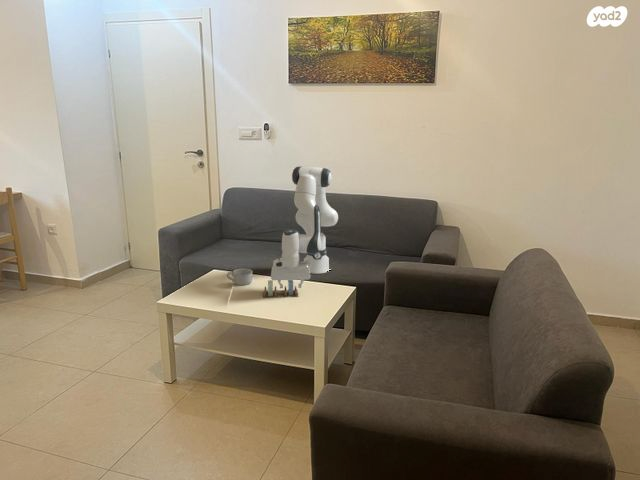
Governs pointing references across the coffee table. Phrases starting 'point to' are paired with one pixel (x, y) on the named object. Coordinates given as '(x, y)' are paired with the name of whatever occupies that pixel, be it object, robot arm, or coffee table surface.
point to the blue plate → (290, 287)
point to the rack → (280, 293)
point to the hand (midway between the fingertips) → (290, 287)
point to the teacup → (241, 276)
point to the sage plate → (270, 287)
